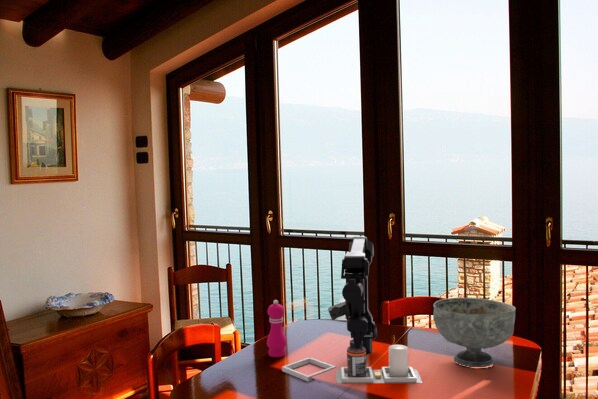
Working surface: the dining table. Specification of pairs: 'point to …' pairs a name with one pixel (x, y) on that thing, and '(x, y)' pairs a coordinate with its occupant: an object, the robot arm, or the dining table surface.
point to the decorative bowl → (474, 326)
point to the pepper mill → (276, 331)
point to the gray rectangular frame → (377, 376)
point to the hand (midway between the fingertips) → (356, 344)
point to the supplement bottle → (356, 360)
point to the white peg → (398, 361)
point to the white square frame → (289, 367)
